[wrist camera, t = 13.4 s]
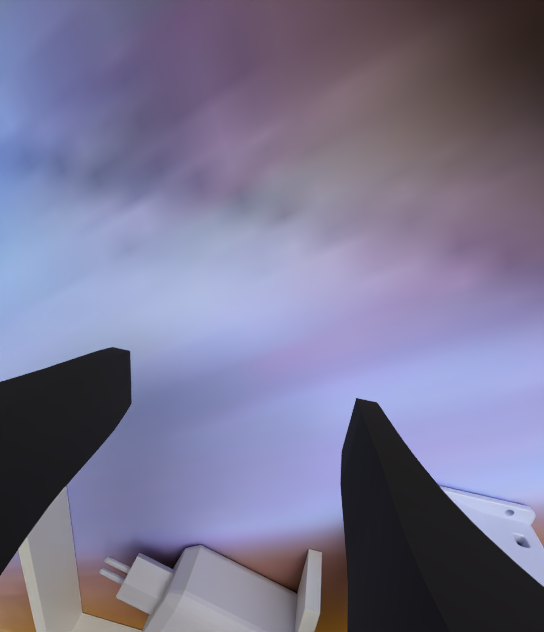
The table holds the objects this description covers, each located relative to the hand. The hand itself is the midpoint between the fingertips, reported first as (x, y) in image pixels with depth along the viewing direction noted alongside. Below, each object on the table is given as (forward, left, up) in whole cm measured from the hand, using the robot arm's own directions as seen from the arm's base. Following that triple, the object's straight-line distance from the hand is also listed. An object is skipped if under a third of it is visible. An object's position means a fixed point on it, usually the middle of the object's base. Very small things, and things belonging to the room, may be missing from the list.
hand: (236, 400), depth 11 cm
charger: (+4, +26, -10) cm, 28 cm away
